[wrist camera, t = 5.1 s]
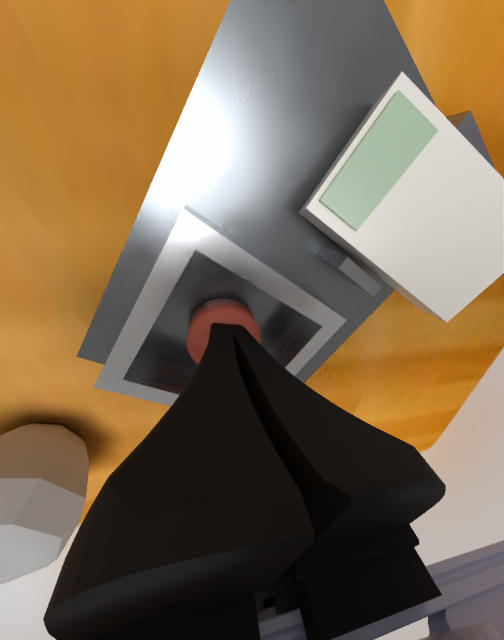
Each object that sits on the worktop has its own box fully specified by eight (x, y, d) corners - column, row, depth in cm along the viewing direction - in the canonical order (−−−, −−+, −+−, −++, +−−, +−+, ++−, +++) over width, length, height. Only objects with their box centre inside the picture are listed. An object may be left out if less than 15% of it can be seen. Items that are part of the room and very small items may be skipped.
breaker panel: (441, 198, 12) (539, 202, 8) (266, 390, 17) (283, 441, 14) (274, -72, 6) (359, -362, 3) (94, 332, 12) (51, 390, 8)
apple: (4, 380, 12) (-161, 544, 6) (135, 426, 16) (102, 551, 10) (-58, 454, 14) (-229, 632, 8) (75, 478, 18) (18, 610, 12)
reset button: (267, 316, 11) (274, 330, 10) (232, 361, 12) (235, 378, 11) (209, 285, 9) (211, 297, 8) (176, 340, 10) (173, 356, 9)
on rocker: (501, 231, 9) (558, 230, 7) (418, 309, 10) (449, 323, 8) (373, 104, 7) (405, 67, 6) (298, 212, 9) (306, 207, 7)
